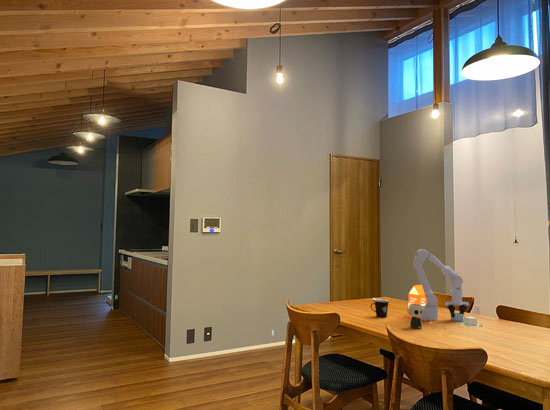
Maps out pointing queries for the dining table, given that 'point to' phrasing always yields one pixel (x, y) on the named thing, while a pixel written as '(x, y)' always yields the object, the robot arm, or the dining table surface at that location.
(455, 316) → the blue block
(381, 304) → the coffee mug
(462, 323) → the baseplate
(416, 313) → the toy figurine
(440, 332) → the dining table surface
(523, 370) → the dining table surface
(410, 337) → the dining table surface
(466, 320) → the cream block
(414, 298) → the orange juice
